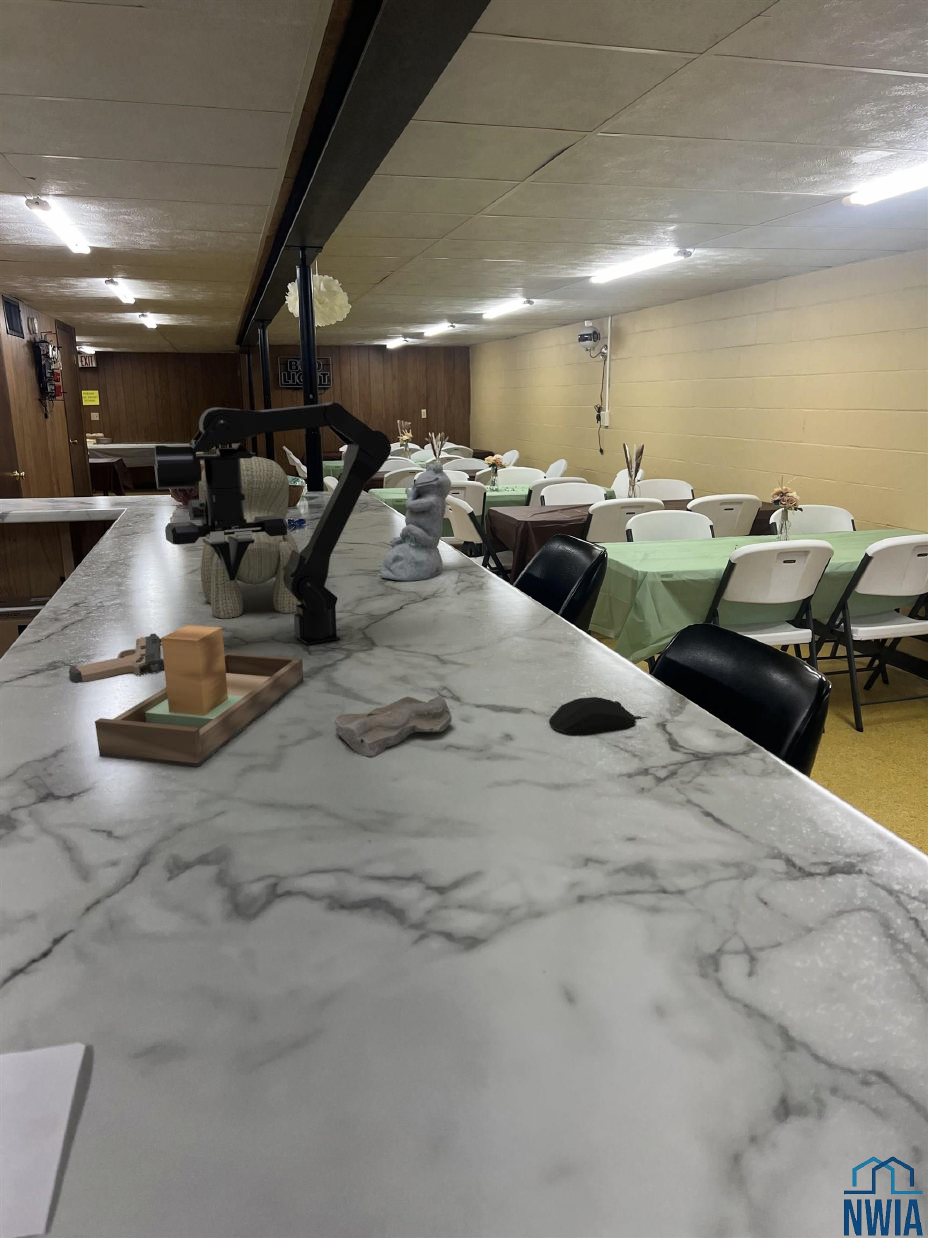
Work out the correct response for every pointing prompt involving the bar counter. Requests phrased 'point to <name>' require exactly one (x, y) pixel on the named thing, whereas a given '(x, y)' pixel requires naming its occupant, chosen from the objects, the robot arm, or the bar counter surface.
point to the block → (195, 669)
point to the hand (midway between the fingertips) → (231, 580)
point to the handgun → (123, 662)
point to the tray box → (191, 746)
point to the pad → (165, 717)
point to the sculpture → (420, 529)
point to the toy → (263, 556)
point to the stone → (392, 724)
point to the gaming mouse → (592, 717)
